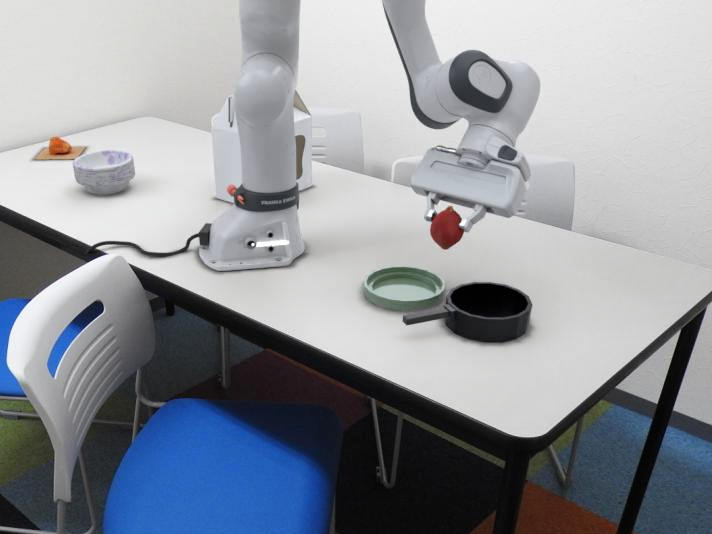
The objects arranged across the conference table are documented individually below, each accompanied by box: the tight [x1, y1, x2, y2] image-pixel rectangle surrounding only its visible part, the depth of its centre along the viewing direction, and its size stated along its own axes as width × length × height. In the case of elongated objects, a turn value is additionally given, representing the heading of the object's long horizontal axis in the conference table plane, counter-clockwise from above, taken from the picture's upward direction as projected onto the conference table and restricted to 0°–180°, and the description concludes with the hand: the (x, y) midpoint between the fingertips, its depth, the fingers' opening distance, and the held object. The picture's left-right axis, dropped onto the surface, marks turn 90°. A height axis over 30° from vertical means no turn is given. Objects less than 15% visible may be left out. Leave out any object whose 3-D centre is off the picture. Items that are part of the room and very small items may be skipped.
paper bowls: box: [72, 149, 136, 196], centre depth 198 cm, size 15×15×8 cm
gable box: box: [210, 89, 313, 204], centre depth 188 cm, size 22×13×28 cm, turn 139°
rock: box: [34, 136, 86, 161], centre depth 226 cm, size 12×12×4 cm
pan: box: [402, 281, 533, 344], centre depth 135 cm, size 23×14×4 cm, turn 109°
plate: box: [362, 265, 447, 311], centre depth 147 cm, size 15×15×2 cm
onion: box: [429, 205, 465, 251], centre depth 134 cm, size 6×6×8 cm
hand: (445, 225), depth 133 cm, fingers closed on onion, 5 cm apart
